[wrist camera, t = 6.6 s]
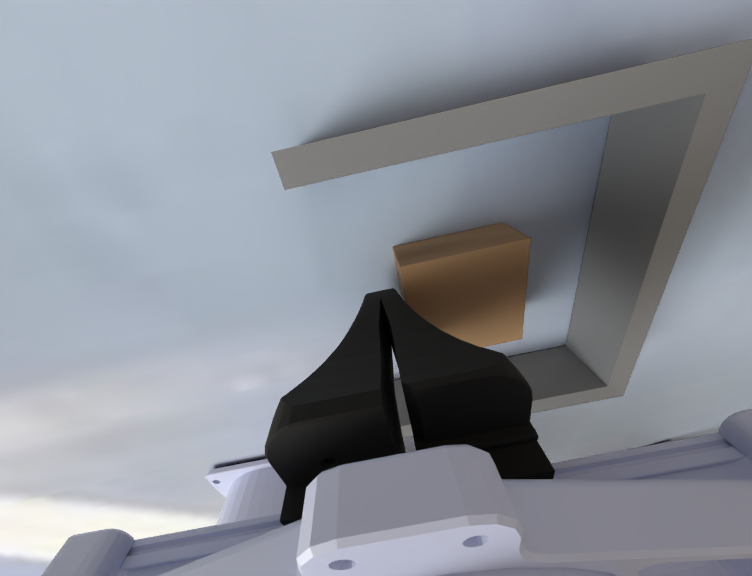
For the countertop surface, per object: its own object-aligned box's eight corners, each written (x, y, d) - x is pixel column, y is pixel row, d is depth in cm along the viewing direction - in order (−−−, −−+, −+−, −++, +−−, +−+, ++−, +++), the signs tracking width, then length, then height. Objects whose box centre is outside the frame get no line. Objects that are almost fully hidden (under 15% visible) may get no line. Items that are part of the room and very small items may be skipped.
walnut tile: (496, 309, 15) (522, 339, 12) (407, 328, 15) (416, 360, 13) (498, 220, 12) (530, 238, 10) (391, 244, 12) (400, 267, 10)
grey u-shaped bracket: (579, 354, 16) (623, 395, 14) (371, 395, 17) (374, 443, 14) (648, 65, 9) (762, 36, 7) (293, 149, 10) (271, 152, 7)
